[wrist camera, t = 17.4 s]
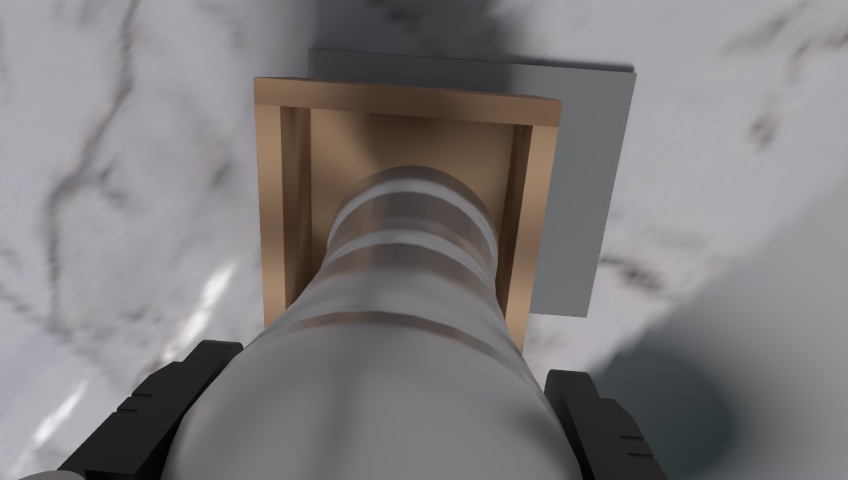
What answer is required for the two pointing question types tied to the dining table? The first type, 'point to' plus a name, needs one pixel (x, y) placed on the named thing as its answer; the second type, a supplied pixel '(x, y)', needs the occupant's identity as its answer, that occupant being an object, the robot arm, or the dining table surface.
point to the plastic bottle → (384, 359)
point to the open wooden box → (391, 147)
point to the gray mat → (573, 159)
